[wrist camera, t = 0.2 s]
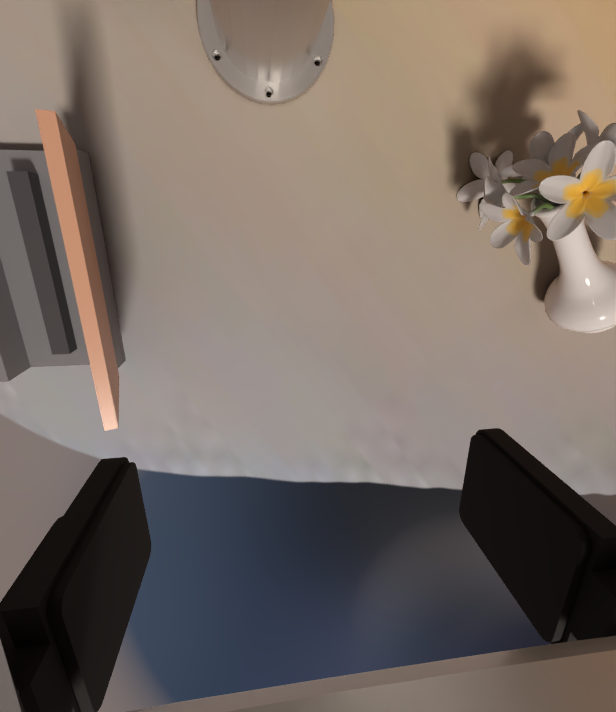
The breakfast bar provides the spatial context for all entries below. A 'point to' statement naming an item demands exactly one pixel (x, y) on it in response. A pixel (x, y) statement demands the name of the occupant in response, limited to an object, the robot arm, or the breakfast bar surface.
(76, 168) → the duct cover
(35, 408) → the breakfast bar surface
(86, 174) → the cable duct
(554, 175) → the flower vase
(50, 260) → the grey plastic bar
